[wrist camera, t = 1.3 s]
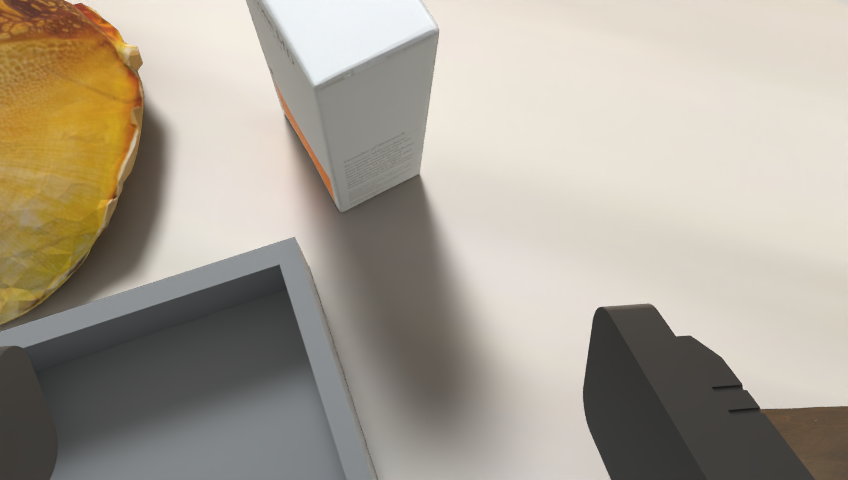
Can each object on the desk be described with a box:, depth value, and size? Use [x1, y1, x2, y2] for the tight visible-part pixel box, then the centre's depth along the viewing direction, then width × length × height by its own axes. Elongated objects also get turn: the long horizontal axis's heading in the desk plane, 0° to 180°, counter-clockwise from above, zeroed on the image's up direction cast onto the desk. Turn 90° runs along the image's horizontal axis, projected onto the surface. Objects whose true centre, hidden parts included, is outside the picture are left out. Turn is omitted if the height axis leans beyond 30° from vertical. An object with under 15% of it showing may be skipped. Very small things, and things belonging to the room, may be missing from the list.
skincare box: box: [246, 0, 439, 212], centre depth 25 cm, size 6×4×12 cm
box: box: [0, 237, 378, 480], centre depth 24 cm, size 13×12×5 cm
